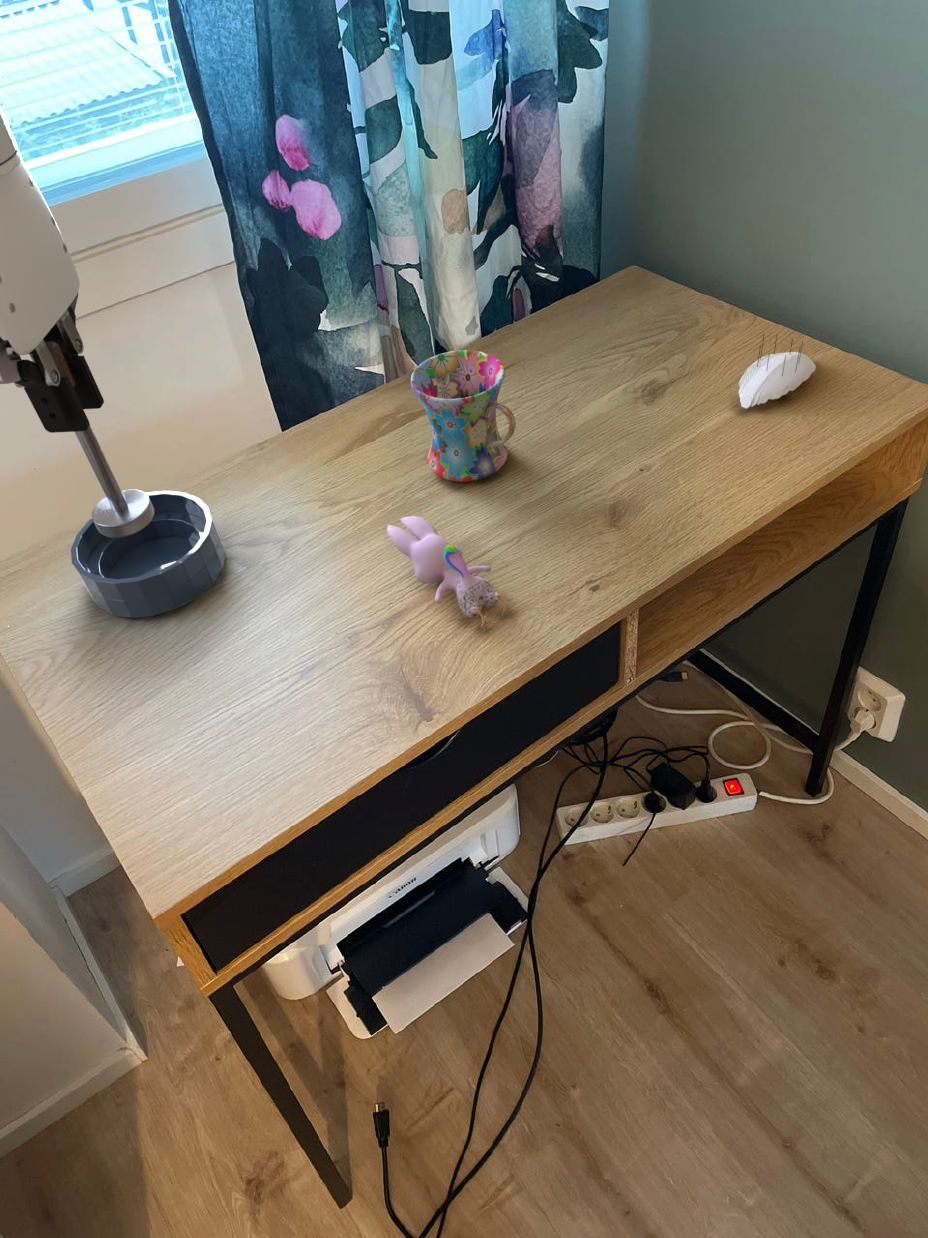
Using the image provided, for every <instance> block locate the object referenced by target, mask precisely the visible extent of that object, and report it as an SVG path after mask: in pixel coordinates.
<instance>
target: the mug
mask: <svg viewBox="0 0 928 1238" xmlns="http://www.w3.org/2000/svg"><path fill="white" fill-rule="evenodd" d="M505 376H506V368H505V366H504V364H503V362H502V361H501V360H500V359H499V358H498V357H496V356H494V355H492V354H490V353H487V352H485V351H480V350H471V349H459V350H458V349H457V350H452V351H446V352H443V353H439V354H436V355H434V356H431V357H429V358H427V359H426V360H424V361H423V362H421V363H420V364H419V365H417V366H416V368H415V369H414V370H413V372H412V374H411V376H410V386H411V389H412V390H413V392H414V393H415V394H416V396H417V397H418V399H419V400H420V402H421V404H422V406H423V407H424V410H425V412H426V415H427V417H428V421H429V424H430V430H431V445H430V447H429V451H428V453H427V465H428V467H429V469H430V470H431V471H432V473H434V474H435V475H436V476H438V477H439V478H441V479H444V480H447V481H452V482H461V483H465V482H466V483H467V482H474V481H478V480H482V479H485V478H487V477H490V476H492V475H494V474H495V473H496V472H498V471H499V470H500V469H501V468H502V467H503V466H504V465H505V463H506V461H507V458H508V454H509V453H508V447H507V444H506V443H507V442H508V441H509V440H510V439H511V438H512V436H513V435H514V432H515V431H516V426H517V425H516V417H515V415H514V413H513V411H511V409H510V408H509V407H508V406H507V405H505V404H504V403H500V402H498V398H499V394H500V390H501V388H502V385H503V382H504V380H505ZM497 410H499V411H500V412H501V413H502V414H504V415H505V417H506V419H507V422H508V431H507V433H506V435H505V436H504V437H503V438H502V437H501V434H500V432H499V429H498V424H497Z"/></svg>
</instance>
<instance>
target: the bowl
mask: <svg viewBox="0 0 928 1238" xmlns="http://www.w3.org/2000/svg"><path fill="white" fill-rule="evenodd" d="M145 493H146V494H147V495H148V496H149V499H150V501H151V503H152V505H153V507H154V516H153V518H152V520H151V521H150V523H149V524H148V525H147V526H145V527H144V528H143V529H141V530H140V531H138V532H136V533H134V534H131V535H128V536H124V537H107V536H104V535H102V534H101V533H100V532H99V531H98V529H97V527H96V526H95V524H94V522H93V520H92V518H90V519H89V520H87V522H86V523H85V524H84V525H83V526H82V528H81V529H80V530H79V531H78V533H77V534H76V535H75V538H74V540H73V543H72V546H71V547H70V557H71V558H70V559H71V564H72V566H73V568H74V569H75V571H76V574H77V575H78V577H79V579H80V580H81V582H82V584H83V586H84V588H85V589H86V592H87V593H88V595H89V596H90V597H91V599H92V600H93V602H94V603H95V604H96V606H97V607H98V608H99V609H101V610H103V611H105V612H107V613H109V614H110V615H112V616H119V617H125V618H133V619H135V618H136V619H137V618H145V617H155V616H157V615H161V614H163V613H164V614H165V613H166V612H170V611H173V610H176V609H179V608H181V607H182V606H184V605H186V604H188V603H190V602H191V601H193V600H195V599H197V598H199V596H200V595H202V594H203V593H204V592H205V591H206V590H208V589H209V588H210V587H211V586H212V585H213V584H215V581H216V580H217V579H218V577H219V575H220V574H221V572H222V571H223V569H224V565H225V560H226V556H227V555H226V554H227V553H226V549H225V546H224V543H223V538H222V537H221V534H220V532H219V529H218V527H217V523H216V521H215V518H214V516H213V514H212V511H211V509H210V507H209V506H208V505H207V504H206V503H205V502H204V501H203V500H202V499H201V498H200V497H197V496H195V495H192V494H190V493H188V492H184V491H175V490H159V491H158V490H157V491H149V492H145Z"/></svg>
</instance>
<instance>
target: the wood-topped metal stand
mask: <svg viewBox="0 0 928 1238" xmlns="http://www.w3.org/2000/svg"><path fill="white" fill-rule="evenodd" d="M45 343H46V345H47V347H48V350H49V352H50V354H51V356H52V358H53V360H54V362H55V364H56V367H57V369H58V371H59V373H60V377H61V378H64V377H68V378H69V381H70V382H71V385H72V387H73V388H74V387H75V385H76V381H75V379H74V377H73V374H72V372H71V370H70V368H69V366H68V364H67V362H66V360H65V357H64V355H63V353H62V351H61V349H60V347H59V345H58V344H57V343H56V342H45ZM28 355H29V357H30V359H31V361H32V362H35V360H34V358H33V356H32V354H28ZM35 363H36V362H35ZM74 434H75V436H76V439H77V440H78V442H79V444H80V446H81V449H82V450H83V452H84V455H85V457H86V458H87V460H88V462H89V464H90V467H91V469H92V470H93V473H94V475H95V477H96V479H97V481H98V483H99V485H100V487H101V489H102V491H103V493H104V497H103V498H102V499H100V500H99V501H98V502H97V503H96V504H95V505H94V507H93V508H92V510H91V515H90V516H91V519H92V520H93V522H94V524H95V526H96V527H97V529H98V531H99V532H100V533H101V534H102V535H104V536H107V537H124V536H128V535H131V534H134V533H136V532H138V531H140V530H141V529H143V528H144V527H145V526H147V525H148V524H149V523H150V521H151V520H152V518H153V516H154V507H153V505H152V503H151V501H150V499H149V496H148V495H147V494H146V493H147V492H145V491H143V490H139V489H134V488H133V489H132V488H131V489H121V486H120V485H119V483H118V481H117V479H116V477H115V474H114V472H113V471H112V468H111V466H110V464H109V462H108V459H107V458H106V456H105V453H104V451H103V449H102V447H101V445H100V443H99V441H98V439H97V436H96V434H95V432H94V430H93V428H92V426H91V424H90V425H89V427H88V428H87V430H86V431H78V432H74Z"/></svg>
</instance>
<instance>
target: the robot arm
mask: <svg viewBox="0 0 928 1238" xmlns="http://www.w3.org/2000/svg"><path fill="white" fill-rule="evenodd" d="M63 237H64V236H63V234H62V233H61V230H60V228H59V226H58V224H57V222H56V220H55V218H54V216H53V214H52V212H51V210H50V207H49V205H48V204H47V202H46V199H45V197H44V195H43V194H42V192H41V190H40V188H39V187H38V185H37V183H36V181H35V179H34V177H33V175H32V174H31V172H30V170H29V169H28V166H27V165H26V163H25V162H24V159H23V156H22V153H21V151H20V149H19V146H18V144H17V142H16V139H15V136H14V135H13V133H12V130H11V128H10V125H9V123H8V120H7V119H6V116H5V114H4V111H3V109H2V107H1V106H0V385H9V384H12V383H13V384H14V386H16V387H17V388H18V389H23V390H24V392H25V393H26V395H27V397H28V399H29V401H30V403H31V406H32V407H33V409H34V412H35V413H36V415H37V417H38V419H39V421H40V422H41V424H42V426H43V429H44V430H46V432H48V433H51V434H53V433H75V432H78V431H86V430H87V428H88V427H89V425H90V426H91V423H90V421H89V418H88V416H87V414H86V412H85V410H97V409H98V410H99V409H101V408H102V406H103V405H104V403H105V400H104V397H103V394H102V393H101V390H100V388H99V386H98V383H97V382H96V380H95V377H94V375H93V373H92V371H91V368H90V366H89V364H88V362H87V360H86V358H85V356H84V355H83V353H84V349H85V348H84V347H85V346H84V342H83V340H82V337H81V335H80V333H79V331H78V328H77V321H76V319H77V315H76V307H77V303H78V299H79V298H78V297H79V290H80V278H79V275H78V271H77V269H76V267H75V263H74V261H73V258H72V256H71V253H70V251H69V248H68V246H67V244H66V241H65V239H64V238H63ZM45 342H56V343H57V344H58V345H59V347H60V349H61V351H62V353H63V355H64V357H65V360H66V362H67V364H68V366H69V368H70V370H71V372H72V374H73V377H74V379H75V381H76V385H75V387H74V388H73V387H72V385H71V382H70V381H69V378H68V377H64V378H61V377H60V373H59V371H58V369H57V367H56V364H55V362H54V360H53V358H52V356H51V354H50V352H49V350H48V347H47V345H46V343H45ZM29 354H32V356H33V358H34V360H35V362H36V363H35V362H33V361H32V360H30V359H27V358H26V359H22V357H21V356H26V355H29ZM81 354H82V355H81Z"/></svg>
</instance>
